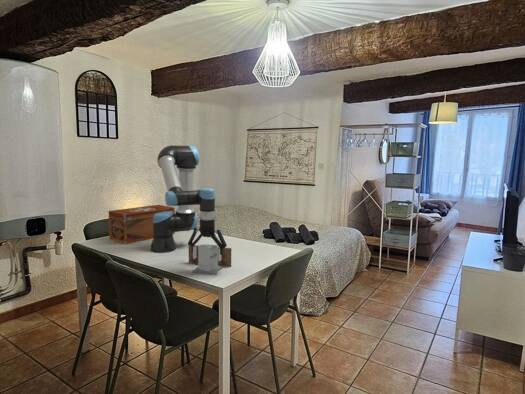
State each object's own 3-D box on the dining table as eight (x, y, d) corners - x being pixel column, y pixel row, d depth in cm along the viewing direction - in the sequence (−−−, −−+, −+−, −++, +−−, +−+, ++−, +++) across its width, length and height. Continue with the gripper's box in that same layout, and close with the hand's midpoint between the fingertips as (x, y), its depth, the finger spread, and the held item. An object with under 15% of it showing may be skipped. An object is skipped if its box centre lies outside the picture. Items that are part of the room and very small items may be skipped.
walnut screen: (188, 263, 180) (188, 245, 179) (189, 262, 181) (189, 244, 180) (230, 266, 176) (230, 248, 174) (231, 266, 177) (231, 247, 176)
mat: (192, 272, 166) (192, 270, 166) (200, 266, 175) (200, 264, 175) (215, 274, 163) (215, 272, 163) (221, 268, 173) (221, 266, 173)
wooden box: (108, 239, 227) (107, 210, 224) (159, 229, 259) (158, 204, 256) (124, 244, 214) (123, 214, 212) (175, 233, 246) (175, 207, 244)
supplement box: (209, 272, 164) (209, 247, 163) (197, 269, 168) (197, 245, 166) (218, 267, 171) (218, 244, 169) (207, 265, 174) (206, 242, 172)
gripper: (181, 218, 165) (181, 259, 168) (228, 221, 160) (228, 263, 163) (187, 216, 172) (187, 255, 175) (233, 219, 167) (232, 259, 170)
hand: (207, 259), depth 169 cm, fingers open, 13 cm apart
